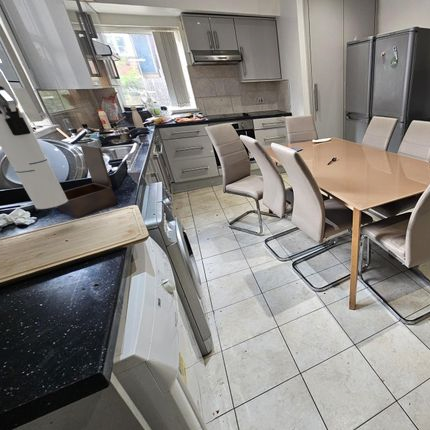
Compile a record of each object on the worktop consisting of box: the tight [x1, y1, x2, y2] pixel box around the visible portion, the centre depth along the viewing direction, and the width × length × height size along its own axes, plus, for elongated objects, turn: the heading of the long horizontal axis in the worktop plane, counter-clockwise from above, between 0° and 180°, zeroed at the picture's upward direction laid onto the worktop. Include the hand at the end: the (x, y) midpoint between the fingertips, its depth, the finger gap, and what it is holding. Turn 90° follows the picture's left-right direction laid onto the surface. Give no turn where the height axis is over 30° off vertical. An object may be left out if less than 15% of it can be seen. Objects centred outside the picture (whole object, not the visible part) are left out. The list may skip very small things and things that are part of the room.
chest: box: [57, 182, 119, 219], centre depth 99 cm, size 13×13×7 cm
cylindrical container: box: [0, 111, 68, 210], centre depth 74 cm, size 7×7×25 cm
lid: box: [80, 144, 113, 188], centre depth 101 cm, size 14×13×5 cm
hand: (16, 133), depth 71 cm, fingers closed on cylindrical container, 7 cm apart
